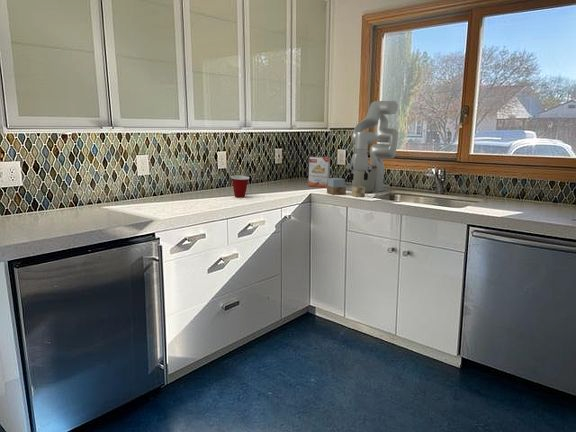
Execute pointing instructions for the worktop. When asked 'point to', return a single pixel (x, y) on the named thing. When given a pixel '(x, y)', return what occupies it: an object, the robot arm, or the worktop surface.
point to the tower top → (336, 182)
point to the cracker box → (319, 171)
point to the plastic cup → (239, 185)
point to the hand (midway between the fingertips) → (358, 180)
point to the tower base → (336, 190)
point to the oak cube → (358, 191)
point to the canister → (368, 183)
